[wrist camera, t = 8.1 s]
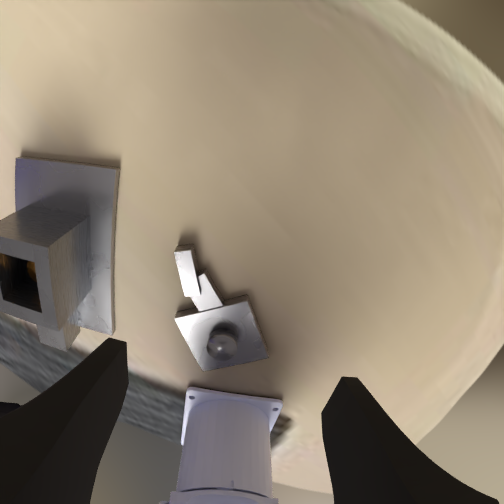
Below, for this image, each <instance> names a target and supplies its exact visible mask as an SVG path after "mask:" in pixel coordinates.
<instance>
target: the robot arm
mask: <svg viewBox="0 0 504 504" xmlns="http://www.w3.org/2000/svg"><path fill="white" fill-rule="evenodd" d="M128 384H129V381H128V366H127V343H126V342H124V341H120V340H117V339H113V338H108V339H106V340H105V341H104V342H103V343H102V344H101V345H100V346H99V347H98V348H96V349H95V350H94V351H93V352H92V353H91V354H90V355H89V356H88V357H86V358H85V359H84V360H83V361H82V362H81V363H80V364H78V365H77V366H76V367H75V368H74V369H72V370H71V371H70V372H69V373H68V374H67V375H65V376H64V377H63V378H62V379H60V380H59V381H58V382H56V383H55V384H54V385H52V386H51V387H50V388H48V389H47V390H46V391H44V392H43V393H41V394H40V395H38V396H37V397H35V398H34V399H33V400H31V401H29V402H28V403H26V404H24V405H23V406H21V407H19V408H17V409H16V410H14V411H12V412H10V413H8V414H6V415H4V416H2V417H0V504H90V499H91V495H92V490H93V486H94V482H95V477H96V474H97V469H98V466H99V463H100V460H101V458H102V455H103V453H104V450H105V448H106V445H107V443H108V440H109V438H110V435H111V433H112V430H113V428H114V426H115V423H116V421H117V418H118V416H119V414H120V411H121V409H122V405H123V402H124V398H125V395H126V391H127V387H128ZM282 407H283V402H282V400H280V399H272V398H263V397H254V396H247V395H239V394H233V393H226V392H220V391H214V390H208V389H202V388H197V387H189V388H187V391H186V399H185V408H184V417H183V427H182V436H181V444H182V445H183V451H182V456H181V463H180V469H179V475H178V482H177V489H176V492H174V491H171V495H170V501H169V502H168V501H161V502H160V503H158V504H278V499H277V498H273V488H272V468H271V449H270V432H271V430H272V428H273V426H274V424H275V422H276V420H277V417H278V415H279V413H280V411H281V409H282ZM321 416H322V434H323V442H324V447H325V452H326V457H327V462H328V467H329V472H330V477H331V482H332V488H333V495H334V504H499V502H498V500H497V499H494V498H492V497H490V496H487V495H485V494H483V493H481V492H479V491H476V490H475V489H473V488H471V487H469V486H467V485H466V484H464V483H462V482H461V481H459V480H457V479H456V478H454V477H453V476H451V475H450V474H449V473H447V472H446V471H444V470H443V469H442V468H440V467H439V466H438V465H437V464H435V463H434V462H433V461H432V460H431V459H429V458H428V457H427V456H426V455H425V454H424V453H423V452H422V451H421V450H419V449H418V448H417V447H416V446H415V445H414V444H413V443H412V442H411V441H410V439H409V438H408V437H407V436H406V435H405V434H404V433H403V432H402V431H401V430H400V429H399V428H398V426H397V425H396V424H395V423H394V422H393V421H392V419H391V418H390V417H389V416H388V415H387V413H386V412H385V411H384V410H383V408H382V407H381V406H380V405H379V403H378V402H377V401H376V400H375V398H374V397H373V396H372V395H371V393H370V392H369V391H368V390H367V388H366V387H365V386H364V385H363V383H362V382H361V381H360V380H359V379H358V378H356V377H341V379H340V381H339V383H338V385H337V386H336V388H335V390H334V392H333V394H332V395H331V397H330V399H329V401H328V402H327V404H326V406H325V407H324V409H323V411H322V413H321Z"/></svg>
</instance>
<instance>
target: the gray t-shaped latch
mask: <svg viewBox="0 0 504 504" xmlns="http://www.w3.org/2000/svg"><path fill="white" fill-rule="evenodd" d="M174 255H175V259H176V263H177V267H178V271H179V276H180V280H181V284H182V288H183V292H184V296H185V297H186V296H190V298H191V299H192V301H193V302H194V304H195V305H196V308H192V309H188V310H184V311H180V312H177V313H176V316H175V321H176V323H177V325H178V327H179V329H180V331H181V333H182V334H183V336H184V338H185V340H186V342H187V344H188V346H189V348H190V349H191V351H192V353H193V355H194V357H195V359H196V360H197V362H198V364H199V366H200V368H201V369H202V371H208V370H213V369H218V368H223V367H228V366H233V365H238V364H243V363H248V362H252V361H257V360H261V359H266V358H269V357H268V349H267V346H266V344H265V341H264V338H263V336H262V333H261V330H260V328H259V325H258V322H257V319H256V317H255V314H254V311H253V309H252V306H251V303H250V301H249V298H248V295H243V296H239V297H236V298H232V299H228V300H224V299H223V298H222V296H221V294H220V293H219V291H218V289H217V287H216V286H215V284H214V282H213V281H212V279H211V277H210V276H209V274H208V272H207V270H206V269H204V270H202V271H200V272H199V269H198V264H197V259H196V254H195V250H194V245H193V244H187V245H179V246H177V248H176V249H175V251H174Z"/></svg>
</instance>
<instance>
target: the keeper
mask: <svg viewBox="0 0 504 504" xmlns="http://www.w3.org/2000/svg"><path fill="white" fill-rule="evenodd" d="M119 173H120V168H117V167H110V166H102V165H95V164H87V163H79V162H70V161H61V160H52V159H42V158H32V157H17V158H16V166H15V203H16V211H18V210H20V209H22V208H24V207H26V206H28V205H30V206H36V207H41V208H47V209H53V210H59V211H65V212H71V213H77V214H83V215H89V216H91V218H90V249H91V279H92V289H91V291H90V292H89V293H88V294H87V296H86V297H85V298H84V299H83V301H82V302H81V303H80V305H79V306H78V307H77V308H76V310H75V311H74V312H73V314H72V315H71V316H70V318H69V319H68V320H67V322H66V323H65V324H64V326H63V327H62V328H61V330H60V331H59V332H58V331H55V330H52V329H49V328H46V327H43V326H40V325H37V324H36V325H37V329H38V334H39V338H40V342H41V343H44V344H46V345H49V346H52V347H55V348H58V349H61V350H63V351H66V352H67V351H68V349H69V348H70V346H71V345H72V343H73V342H74V340H75V338H76V337H77V335H78V334H79V332H80V327H84V328H87V329H91V330H94V331H98V332H101V333H105V334H109V335H113V334H114V332H115V318H114V243H115V222H116V207H117V194H118V183H119ZM27 271H28V274H29V276H30V277H31V278H32V279H33V280H34V281H35V282H37V278H36V271H35V262H32V261H28V263H27Z"/></svg>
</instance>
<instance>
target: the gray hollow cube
mask: <svg viewBox="0 0 504 504" xmlns="http://www.w3.org/2000/svg"><path fill="white" fill-rule="evenodd" d="M90 218H91V216H89V215H83V214H77V213H71V212H65V211H59V210H53V209H47V208H41V207H36V206H30V205H28V206H26V207H24V208H22V209H20V210H18V211H16V212H15V213H13V214H11V215H9V216H7V217H5V218H4V219H2V220H0V311H2V312H4V313H7V314H9V315H12V316H15V317H17V318H20V319H23V320H25V321H28V322H31V323H34V324H37V325H40V326H43V327H46V328H49V329H52V330H55V331H58V332H59V331H60V330H61V328H62V327H63V326H64V324H65V323H66V322H67V320H68V319H69V318H70V316H71V315H72V314H73V312H74V311H75V310H76V308H77V307H78V306H79V305H80V303H81V302H82V301H83V299H84V298H85V297H86V296H87V294H88V293H89V292H90V291H91V289H92V279H91V249H90ZM28 261H32V262H35V271H36V278H37V282H35V281H34V280H33V279H32V278H31V277H30V276H29V274H28V271H27V263H28Z"/></svg>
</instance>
